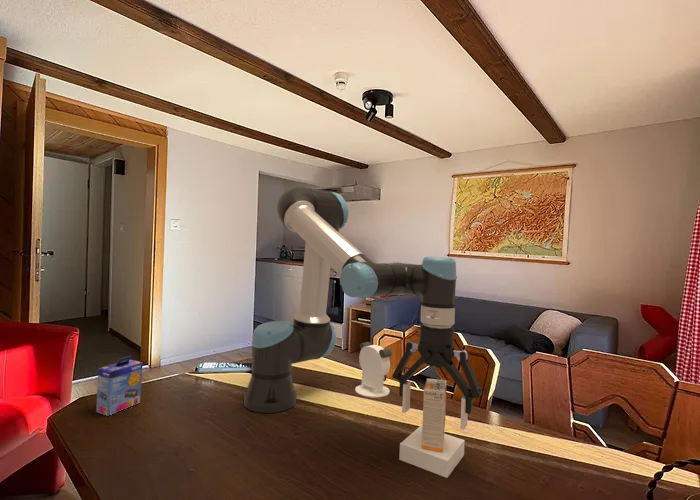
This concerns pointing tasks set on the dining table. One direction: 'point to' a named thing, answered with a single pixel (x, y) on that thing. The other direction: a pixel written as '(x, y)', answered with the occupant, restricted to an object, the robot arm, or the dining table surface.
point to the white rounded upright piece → (373, 370)
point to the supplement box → (434, 414)
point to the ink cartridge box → (118, 386)
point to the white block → (432, 453)
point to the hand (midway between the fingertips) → (433, 418)
